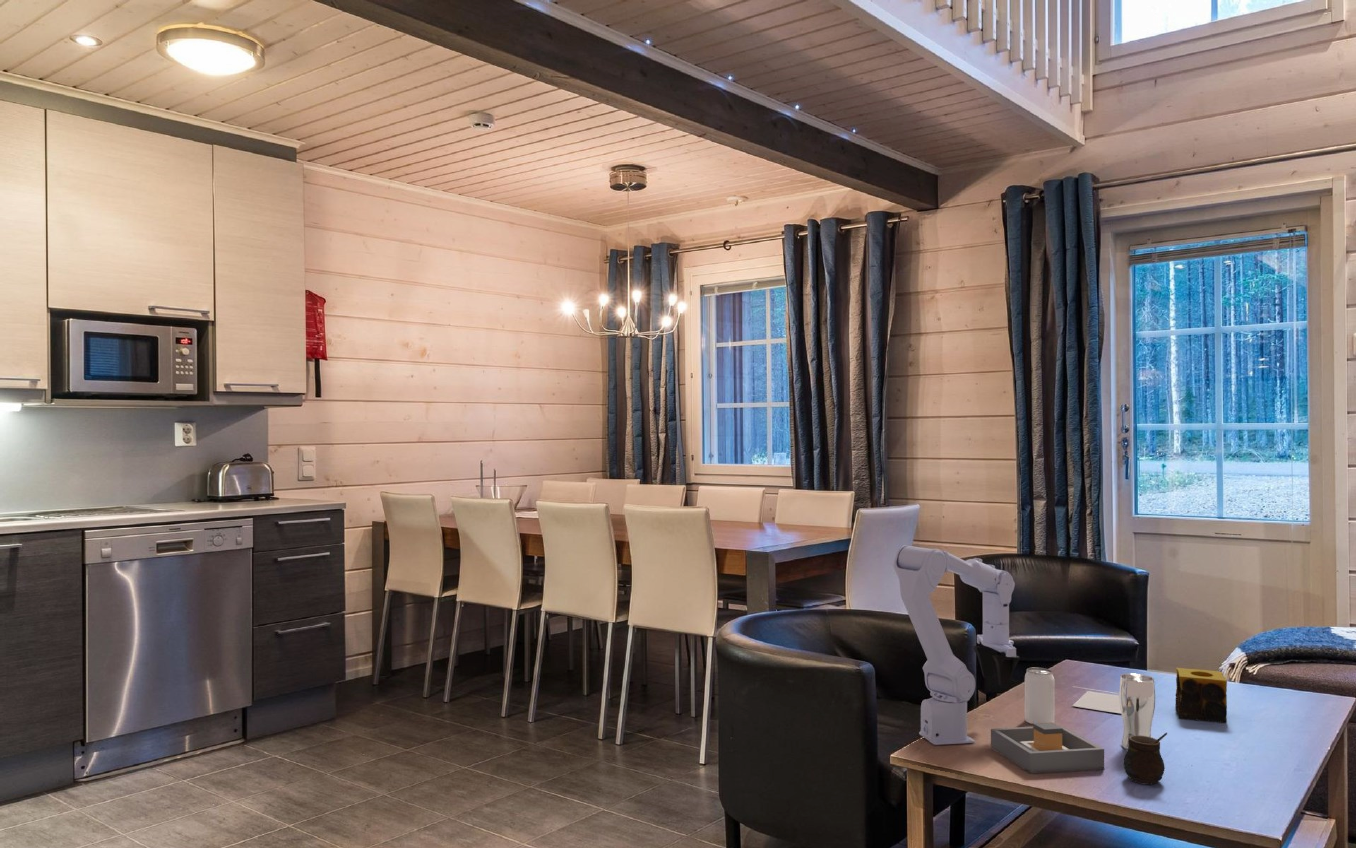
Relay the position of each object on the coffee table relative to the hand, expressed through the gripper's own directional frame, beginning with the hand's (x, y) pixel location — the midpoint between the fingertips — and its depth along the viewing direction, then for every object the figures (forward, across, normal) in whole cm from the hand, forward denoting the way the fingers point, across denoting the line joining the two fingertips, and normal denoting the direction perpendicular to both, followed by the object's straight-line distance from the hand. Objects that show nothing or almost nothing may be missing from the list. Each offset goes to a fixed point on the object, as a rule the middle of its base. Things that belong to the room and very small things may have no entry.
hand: (996, 681), depth 221 cm
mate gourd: (+11, -36, -12) cm, 39 cm away
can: (+11, +2, -12) cm, 16 cm away
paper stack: (+11, +19, -37) cm, 43 cm away
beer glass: (+11, -18, -23) cm, 31 cm away
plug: (+10, -21, 0) cm, 23 cm away
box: (+10, -21, 0) cm, 23 cm away
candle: (+11, +1, -53) cm, 54 cm away
